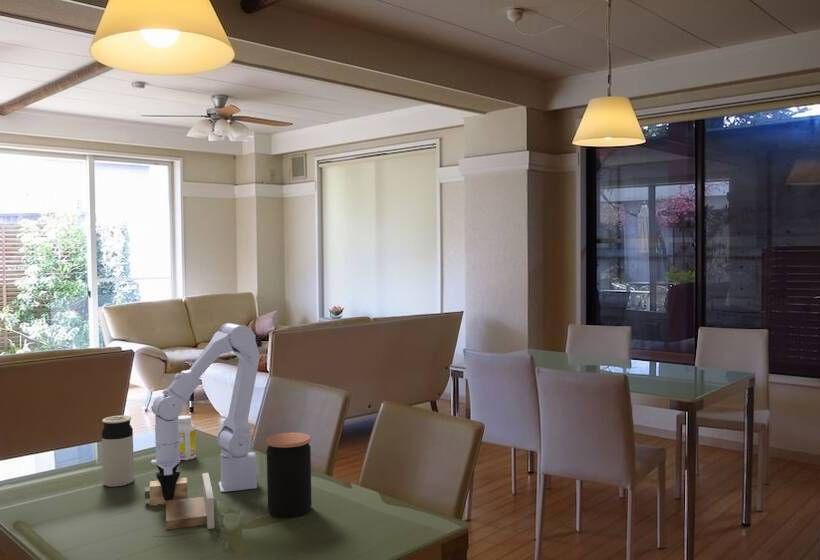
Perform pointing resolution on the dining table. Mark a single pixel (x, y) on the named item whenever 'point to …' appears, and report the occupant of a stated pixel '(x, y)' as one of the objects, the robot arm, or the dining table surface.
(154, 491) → the tan rectangular block
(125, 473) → the travel mug
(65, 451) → the dining table surface
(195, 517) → the brown rectangular panel
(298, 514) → the coffee jar
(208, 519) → the shelf board
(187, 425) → the supplement bottle
